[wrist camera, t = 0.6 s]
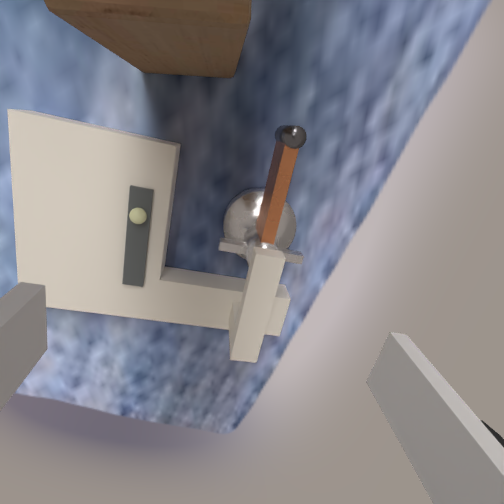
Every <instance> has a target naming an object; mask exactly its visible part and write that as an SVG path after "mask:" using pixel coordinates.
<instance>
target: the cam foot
mask: <svg viewBox="0 0 504 504" xmlns="http://www.w3.org/2000/svg"><path fill="white" fill-rule="evenodd" d="M275 139H276V144H275V149H274V153H273V157H272V161H271V166H270V170H269V174H268V178H267V182H266V187H265V188H251V189H248V190H245V191H243V192H241V193H239V194H238V195H237V196H235V197H234V198H233V199H232V200H231V202H230V203H229V205H228V206H227V208H226V211H225V214H224V220H223V222H224V236H225V238H220V242H219V250H220V251H226V252H232V253H236V254H237V255H238V256H240V257H242V258H244V259H247V263H248V267H249V265H250V261H251V257H252V253H253V248H254V246H255V247H260V248H266V249H272V250H278V251H282V252H283V254H284V256H285V259H286V260H285V262H291V263H297V264H302V261H303V257H304V256H303V254H302V253H301V252H300V251H294V250H289V249H287V248H288V247H289V246H290V244H291V243H292V241H293V239H294V236H295V232H296V219H295V215H294V212H293V210H292V208H291V207H290V205H289V204H288V203H287V202H286V200H285V199H286V196H287V192H288V188H289V184H290V181H291V177H292V173H293V169H294V165H295V162H296V158H297V154H298V150H299V148H300V147H302V146H303V145H304V143H305V141H306V132H305V130H304V129H303V128H302V127H300V126H290V125H283V126H280V127H279V128H278V129H277V130H276V132H275Z"/></svg>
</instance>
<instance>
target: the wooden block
mask: <svg viewBox="0 0 504 504" xmlns="http://www.w3.org/2000/svg"><path fill="white" fill-rule="evenodd" d="M251 1H252V0H44V2H45V4H46V6H47V8H48V9H49V11H51V12H52V13H54V14H55V15H57V16H58V17H60V18H61V19H63V20H64V21H66V22H67V23H69V24H70V25H72V26H74V27H75V28H77V29H78V30H80V31H81V32H83V33H84V34H86V35H87V36H89V37H90V38H92V39H93V40H95V41H96V42H98V43H99V44H101V45H102V46H104V47H105V48H107V49H109V50H110V51H112V52H113V53H115V54H116V55H118V56H119V57H121V58H122V59H124V60H125V61H127V62H128V63H130V64H131V65H133V66H134V67H136V68H137V69H139V70H140V71H142V72H144V73H157V74H173V75H189V76H204V77H220V78H232V77H234V74H235V71H236V68H237V64H238V61H239V57H240V54H241V51H242V47H243V44H244V40H245V37H246V33H247V30H248V27H249V23H250V20H251Z"/></svg>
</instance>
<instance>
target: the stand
mask: <svg viewBox="0 0 504 504" xmlns="http://www.w3.org/2000/svg"><path fill="white" fill-rule="evenodd" d="M7 110H8V126H9V142H10V158H11V175H12V191H13V207H14V224H15V240H16V256H17V272H18V284H19V283H20V282H25V283H32V284H40V285H45V290H46V307H51V308H59V309H67V310H75V311H83V312H91V313H99V314H107V315H115V316H123V317H131V318H139V319H147V320H155V321H162V322H170V323H178V324H186V325H194V326H202V327H210V328H218V329H226V330H229V344H230V360H236V361H245V362H254V363H256V362H257V358H258V355H259V351H260V348H261V344H262V341H263V337H264V334H266V335H274V336H280V333H281V329H282V326H283V323H284V320H285V316H286V313H287V310H288V307H289V303H290V300H291V299H290V296H289V294H288V291H287V289H286V286H285V285H282V284H279V281H280V278H281V274H282V271H283V267H284V263H285V260H286V259H285V256H284V254H283V252H282V251H278V250H272V249H266V248H260V247H255V246H254V248H253V253H252V257H251V261H250V265H249V269H248V273H247V278H246V279H244V278H237V277H231V276H224V275H218V274H212V273H205V272H199V271H192V270H186V269H179V268H173V267H166V266H165V262H166V254H167V246H168V239H169V231H170V223H171V216H172V208H173V200H174V193H175V185H176V177H177V170H178V162H179V154H180V147H181V144H179V143H175V142H170V141H166V140H161V139H157V138H152V137H148V136H143V135H139V134H134V133H130V132H125V131H121V130H116V129H112V128H107V127H103V126H98V125H94V124H89V123H85V122H80V121H76V120H71V119H67V118H62V117H58V116H53V115H49V114H44V113H40V112H35V111H31V110H15V109H7Z"/></svg>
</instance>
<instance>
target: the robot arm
mask: <svg viewBox="0 0 504 504" xmlns="http://www.w3.org/2000/svg"><path fill="white" fill-rule="evenodd" d="M46 350H47V322H46V290H45V285H40V284H32V283H25V282H20V283H19V284H18V285H16V286H15V287H14V288H13V289H11V290H10V291H9V292H8V293H7V294H5V295H4V296H3V297H2V298H0V411H1V410H2V409H3V407H4V406H5V405H6V403H7V402H8V400H9V399H10V398H11V397H12V395H13V394H14V393H15V391H16V390H17V389H18V387H19V386H20V385H21V383H22V382H23V381H24V379H25V378H26V377H27V375H28V374H29V373H30V371H31V370H32V369H33V367H34V366H35V365H36V363H37V362H38V361H39V359H40V358H41V357H42V355H43V354H44V353H45V351H46ZM366 383H367V384H368V386H369V388H370V390H371V392H372V393H373V395H374V397H375V399H376V401H377V403H378V404H379V406H380V408H381V410H382V412H383V413H384V415H385V417H386V419H387V421H388V422H389V424H390V426H391V428H392V430H393V432H394V433H395V435H396V437H397V439H398V441H399V442H400V444H401V446H402V447H403V450H404V451H405V453H406V455H407V457H408V459H409V460H410V462H411V464H412V466H413V468H414V470H415V471H416V473H417V475H418V477H419V479H420V480H421V482H422V484H423V486H424V488H425V490H426V491H427V493H428V495H429V497H430V499H431V500H432V502H433V504H504V439H503V438H502V437H501V436H500V435H499V434H498V433H497V432H495V431H494V430H493V429H492V428H490V427H489V426H488V425H487V424H486V423H484V422H483V421H481V420H479V418H478V417H477V416H476V415H475V414H474V413H473V412H472V410H471V409H470V408H469V407H468V406H467V405H466V403H465V402H464V401H463V400H462V399H461V398H460V397H459V395H458V394H457V393H456V392H455V390H454V389H453V388H452V387H451V386H450V385H449V383H448V382H447V381H446V380H445V379H444V378H443V377H442V376H441V374H440V373H439V372H438V371H437V370H436V369H435V367H434V366H433V365H432V364H431V363H430V361H429V360H428V359H427V358H426V357H425V356H424V355H423V353H422V352H421V351H420V350H419V349H418V347H417V346H416V345H415V344H414V343H413V342H412V340H411V339H410V338H409V337H408V336H407V335H406V334H400V333H393V332H390V333H389V335H388V337H387V339H386V341H385V343H384V345H383V348H382V350H381V352H380V354H379V356H378V358H377V360H376V363H375V364H374V367H373V369H372V371H371V373H370V375H369V377H368V379H367V382H366Z"/></svg>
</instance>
